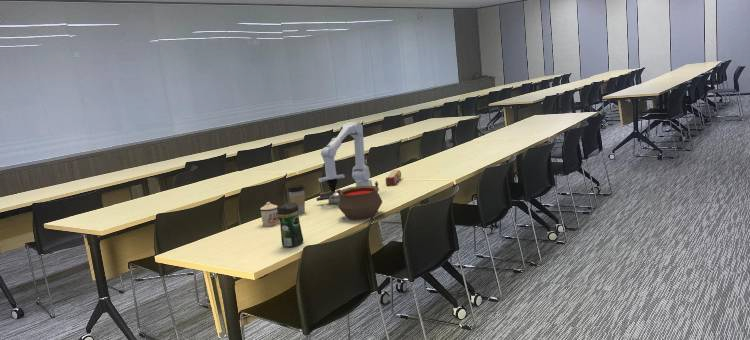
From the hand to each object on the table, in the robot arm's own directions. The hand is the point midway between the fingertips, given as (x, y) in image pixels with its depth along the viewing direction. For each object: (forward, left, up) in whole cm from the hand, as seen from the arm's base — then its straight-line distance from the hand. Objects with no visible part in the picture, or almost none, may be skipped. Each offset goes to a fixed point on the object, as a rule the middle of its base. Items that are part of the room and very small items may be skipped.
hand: (333, 192), depth 319 cm
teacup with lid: (+27, +28, -8) cm, 40 cm away
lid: (+1, -8, -3) cm, 8 cm away
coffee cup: (+18, +10, -8) cm, 22 cm away
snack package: (-28, -54, -8) cm, 61 cm away
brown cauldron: (-19, +27, -8) cm, 34 cm away
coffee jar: (+6, +68, -8) cm, 69 cm away
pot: (+1, -9, -8) cm, 12 cm away
